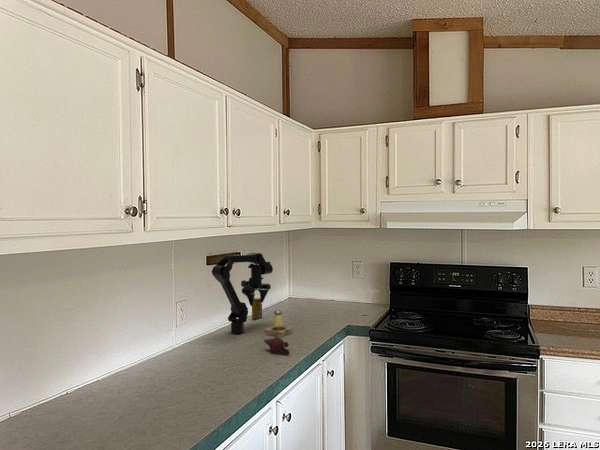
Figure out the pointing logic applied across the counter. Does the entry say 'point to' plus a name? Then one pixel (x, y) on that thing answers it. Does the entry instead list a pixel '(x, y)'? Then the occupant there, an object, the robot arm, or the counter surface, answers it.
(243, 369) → the counter surface
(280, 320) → the pin
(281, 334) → the socket
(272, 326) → the mount mat
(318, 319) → the counter surface
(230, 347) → the counter surface
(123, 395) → the counter surface
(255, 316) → the condiment
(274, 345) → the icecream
